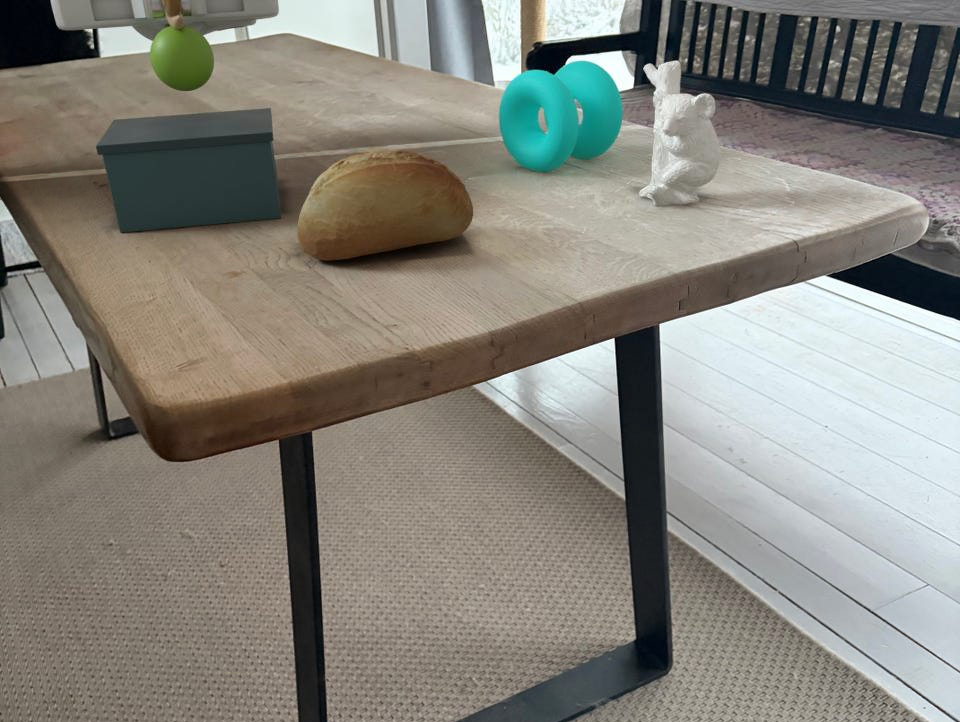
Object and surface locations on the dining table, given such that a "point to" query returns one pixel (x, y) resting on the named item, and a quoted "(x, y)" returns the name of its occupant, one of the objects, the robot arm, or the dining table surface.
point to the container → (191, 169)
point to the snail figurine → (181, 52)
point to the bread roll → (382, 205)
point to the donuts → (560, 115)
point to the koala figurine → (680, 139)
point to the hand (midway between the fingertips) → (171, 6)
